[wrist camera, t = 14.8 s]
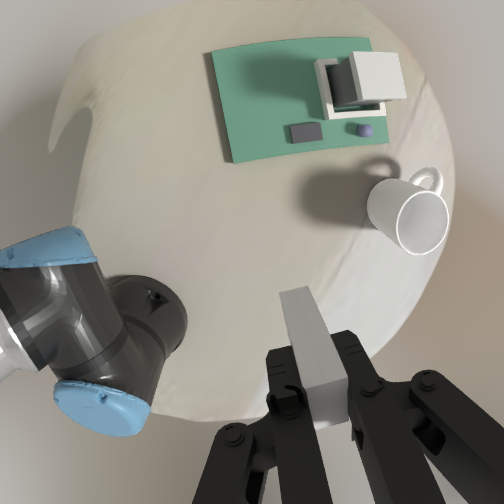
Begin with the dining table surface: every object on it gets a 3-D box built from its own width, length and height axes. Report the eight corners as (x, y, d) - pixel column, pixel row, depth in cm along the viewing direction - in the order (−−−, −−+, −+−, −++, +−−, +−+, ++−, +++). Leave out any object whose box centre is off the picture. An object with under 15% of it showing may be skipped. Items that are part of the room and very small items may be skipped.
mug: (398, 147, 38) (437, 152, 28) (432, 181, 39) (472, 195, 30) (354, 210, 41) (382, 232, 32) (391, 240, 43) (422, 267, 33)
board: (234, 163, 39) (233, 164, 36) (212, 54, 33) (209, 48, 30) (385, 142, 37) (394, 143, 35) (366, 40, 32) (373, 34, 29)
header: (325, 120, 35) (329, 119, 33) (313, 63, 32) (317, 59, 30) (380, 116, 35) (386, 115, 33) (369, 61, 32) (375, 58, 30)
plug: (333, 108, 35) (363, 99, 25) (325, 68, 33) (351, 46, 22) (368, 106, 34) (406, 98, 24) (360, 67, 32) (395, 48, 22)
